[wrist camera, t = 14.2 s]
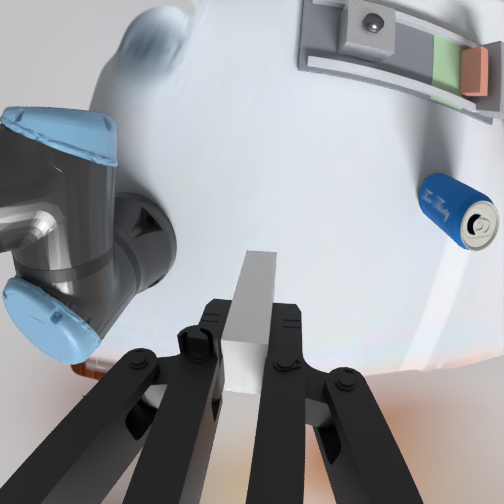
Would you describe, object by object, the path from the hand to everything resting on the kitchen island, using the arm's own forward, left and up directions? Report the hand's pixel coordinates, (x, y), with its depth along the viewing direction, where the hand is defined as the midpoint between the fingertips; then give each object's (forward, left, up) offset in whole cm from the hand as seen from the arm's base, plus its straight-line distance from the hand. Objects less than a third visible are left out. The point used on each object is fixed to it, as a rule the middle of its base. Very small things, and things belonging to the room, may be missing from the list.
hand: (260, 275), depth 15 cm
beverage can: (+22, +2, -24) cm, 32 cm away
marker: (+23, +20, -22) cm, 37 cm away
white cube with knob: (+8, +20, -22) cm, 31 cm away
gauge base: (+15, +20, -24) cm, 34 cm away
